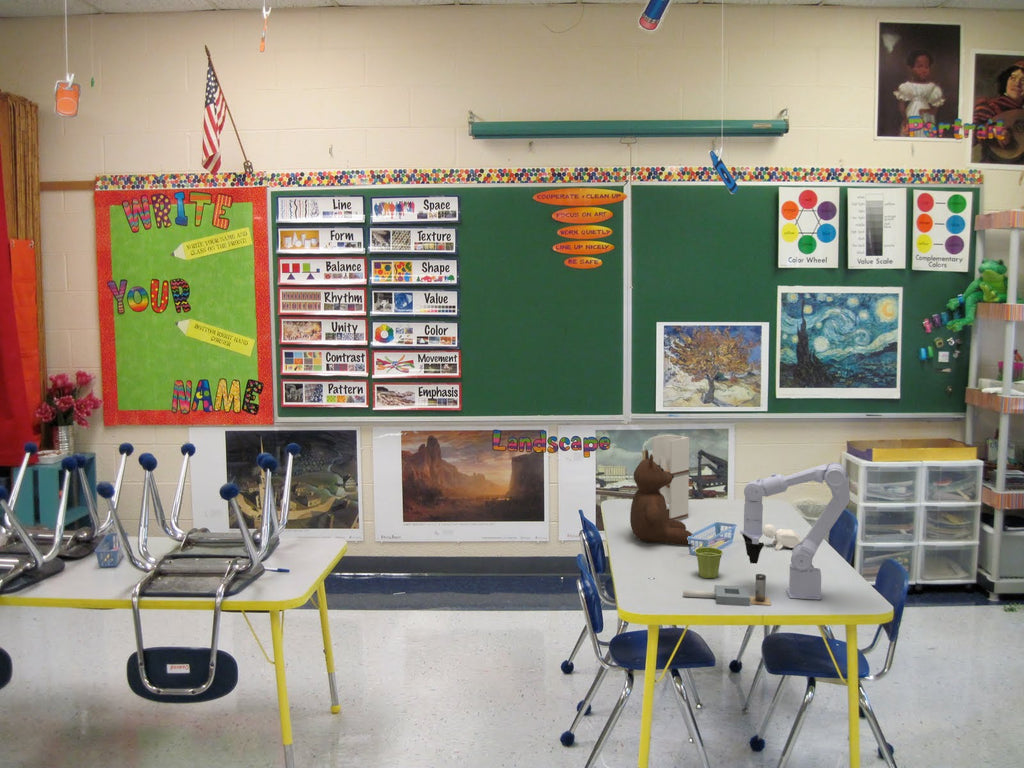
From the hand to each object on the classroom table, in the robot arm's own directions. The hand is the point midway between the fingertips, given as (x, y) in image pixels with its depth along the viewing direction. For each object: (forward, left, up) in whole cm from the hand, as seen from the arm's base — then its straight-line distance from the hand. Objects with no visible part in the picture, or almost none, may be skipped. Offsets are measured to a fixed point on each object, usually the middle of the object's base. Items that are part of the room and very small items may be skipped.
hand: (752, 559), depth 272 cm
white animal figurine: (-16, -48, -10) cm, 51 cm away
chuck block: (+12, +10, -10) cm, 19 cm away
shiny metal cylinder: (-2, +11, -10) cm, 15 cm away
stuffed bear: (+29, -50, -10) cm, 59 cm away
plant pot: (+13, -11, -10) cm, 20 cm away
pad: (-2, +11, -10) cm, 15 cm away
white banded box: (+25, -83, -10) cm, 87 cm away
